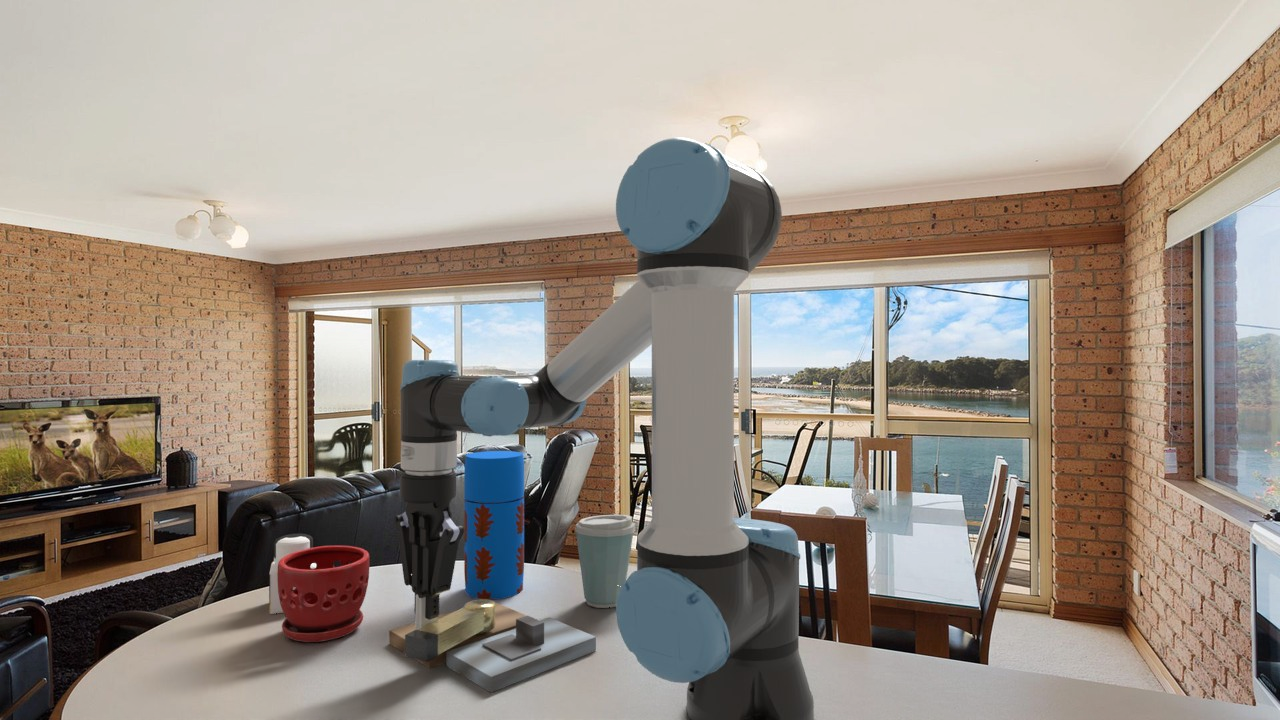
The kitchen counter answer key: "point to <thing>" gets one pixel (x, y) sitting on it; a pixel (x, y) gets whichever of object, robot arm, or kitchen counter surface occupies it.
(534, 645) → the door and jamb
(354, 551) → the plant pot
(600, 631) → the kitchen counter surface
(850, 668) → the kitchen counter surface
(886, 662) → the kitchen counter surface
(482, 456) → the thermos
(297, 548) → the medicine bottle
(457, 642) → the swing bar
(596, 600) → the disposable coffee cup
